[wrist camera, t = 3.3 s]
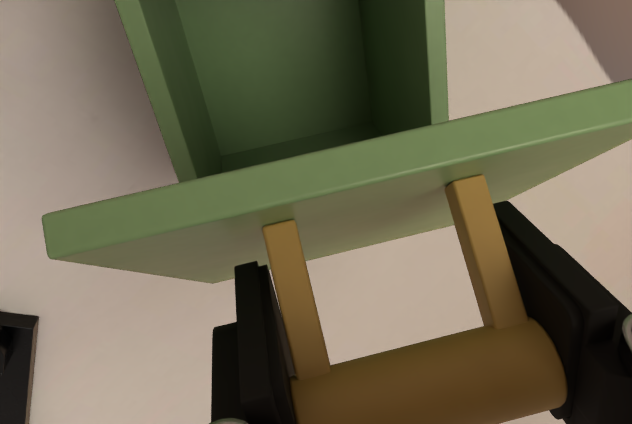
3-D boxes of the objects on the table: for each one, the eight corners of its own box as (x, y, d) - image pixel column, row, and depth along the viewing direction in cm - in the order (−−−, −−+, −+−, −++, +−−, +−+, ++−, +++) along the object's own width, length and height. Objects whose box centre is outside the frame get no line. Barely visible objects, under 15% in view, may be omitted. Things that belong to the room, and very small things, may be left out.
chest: (140, -69, 26) (90, -67, 16) (356, -112, 27) (440, -137, 17) (212, 164, 33) (209, 269, 23) (382, 125, 34) (452, 210, 23)
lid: (38, 213, 8) (93, 576, 7) (687, 64, 9) (810, 380, 8) (207, 266, 22) (233, 393, 22) (454, 207, 23) (489, 327, 22)
